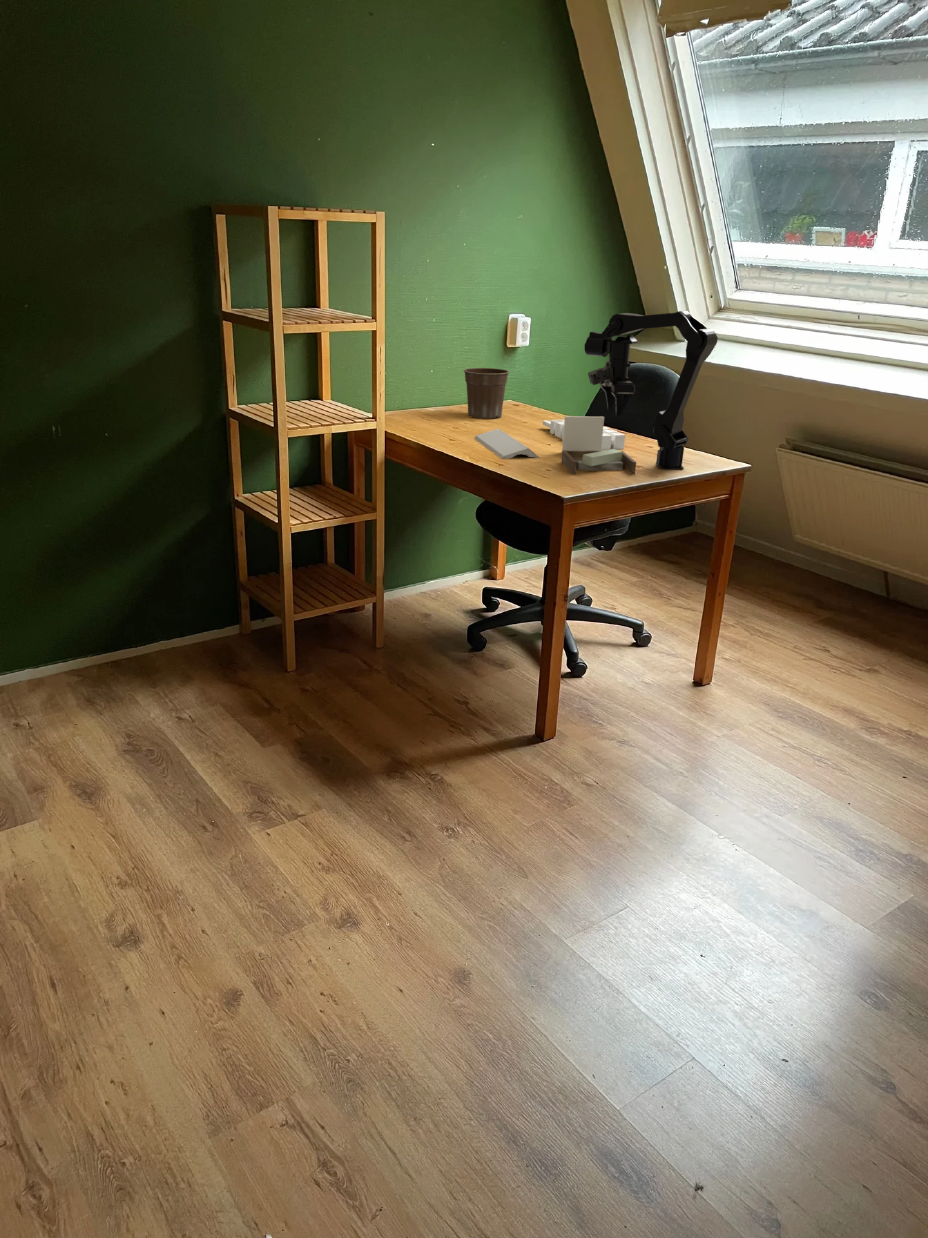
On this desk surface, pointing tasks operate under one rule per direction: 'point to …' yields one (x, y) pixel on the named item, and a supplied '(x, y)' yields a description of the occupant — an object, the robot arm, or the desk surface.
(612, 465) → the offcut lower
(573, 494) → the desk surface
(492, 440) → the crown molding
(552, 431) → the organizer
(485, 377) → the plant pot
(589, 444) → the sheet
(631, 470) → the tray
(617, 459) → the offcut upper
